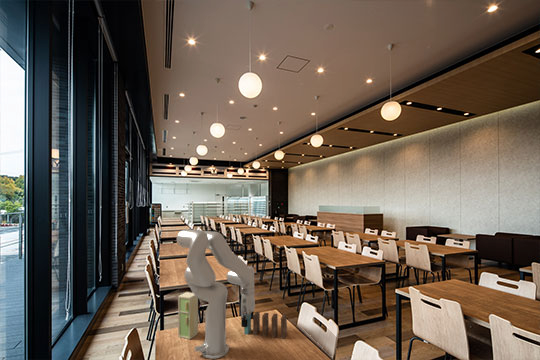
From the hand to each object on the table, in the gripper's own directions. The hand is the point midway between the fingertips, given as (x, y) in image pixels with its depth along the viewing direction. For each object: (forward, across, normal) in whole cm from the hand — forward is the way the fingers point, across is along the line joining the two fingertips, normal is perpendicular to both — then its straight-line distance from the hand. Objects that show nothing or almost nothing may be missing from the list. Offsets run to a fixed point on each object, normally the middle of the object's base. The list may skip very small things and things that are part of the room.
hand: (247, 322), depth 144 cm
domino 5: (+5, 0, -20) cm, 21 cm away
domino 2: (+5, 0, -5) cm, 7 cm away
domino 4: (+5, 0, -15) cm, 16 cm away
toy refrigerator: (+5, -11, +30) cm, 32 cm away
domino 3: (+5, 0, -10) cm, 11 cm away
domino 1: (+5, 0, 0) cm, 5 cm away
